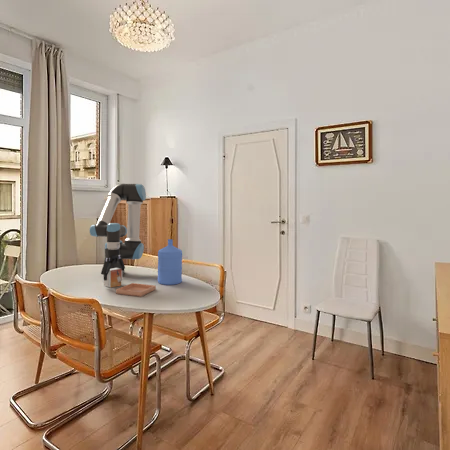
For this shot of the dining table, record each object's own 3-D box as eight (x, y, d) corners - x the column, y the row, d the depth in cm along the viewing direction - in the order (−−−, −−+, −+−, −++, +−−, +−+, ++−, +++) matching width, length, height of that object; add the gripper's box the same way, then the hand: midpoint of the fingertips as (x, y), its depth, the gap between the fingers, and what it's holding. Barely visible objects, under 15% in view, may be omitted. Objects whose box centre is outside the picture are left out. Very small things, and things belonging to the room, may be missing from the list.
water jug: (177, 285, 205) (177, 241, 203) (153, 284, 208) (154, 240, 206) (185, 280, 220) (185, 238, 218) (163, 278, 223) (163, 237, 222)
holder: (132, 287, 200) (132, 282, 199) (155, 289, 195) (155, 285, 195) (116, 293, 184) (116, 289, 184) (141, 296, 180) (141, 292, 179)
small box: (110, 287, 196) (110, 270, 196) (104, 286, 200) (105, 269, 199) (121, 285, 203) (121, 268, 202) (116, 283, 206) (116, 267, 206)
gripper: (105, 251, 187) (105, 288, 188) (130, 246, 211) (130, 279, 212) (94, 250, 189) (94, 287, 190) (120, 245, 213) (120, 278, 214)
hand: (113, 283), depth 201 cm, fingers open, 13 cm apart
